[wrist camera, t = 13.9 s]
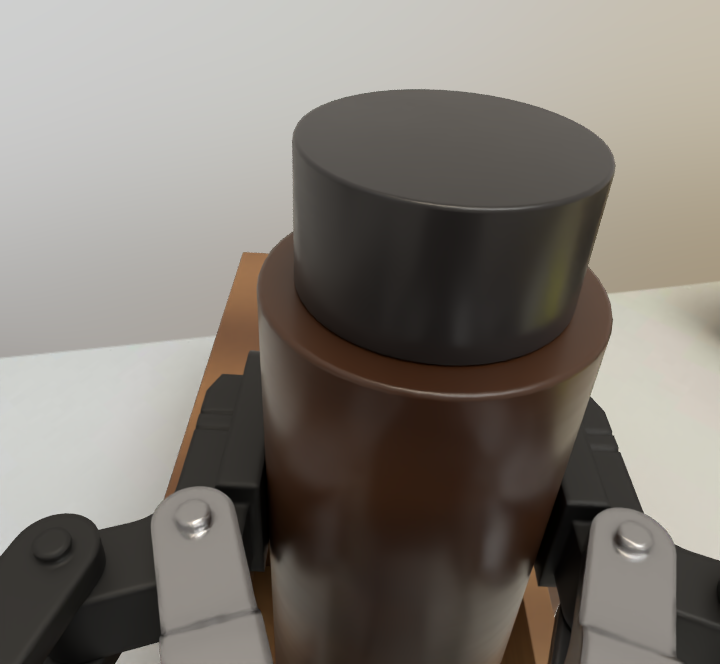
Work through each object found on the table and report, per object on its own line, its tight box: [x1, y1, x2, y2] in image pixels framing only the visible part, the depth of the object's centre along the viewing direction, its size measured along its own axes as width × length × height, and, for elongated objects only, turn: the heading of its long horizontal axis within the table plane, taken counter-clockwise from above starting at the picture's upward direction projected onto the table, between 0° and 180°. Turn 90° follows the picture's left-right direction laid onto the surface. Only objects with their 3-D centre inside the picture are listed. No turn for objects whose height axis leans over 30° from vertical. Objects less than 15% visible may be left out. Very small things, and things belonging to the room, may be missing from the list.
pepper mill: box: [257, 89, 615, 664], centre depth 13 cm, size 5×5×16 cm
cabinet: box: [164, 252, 560, 615], centre depth 28 cm, size 15×13×9 cm
